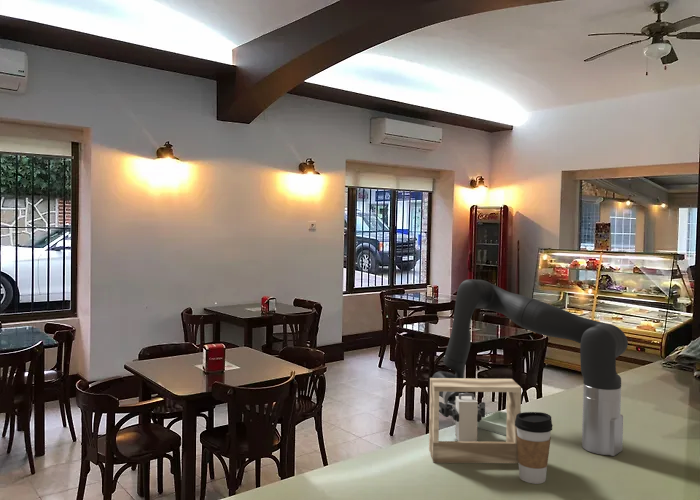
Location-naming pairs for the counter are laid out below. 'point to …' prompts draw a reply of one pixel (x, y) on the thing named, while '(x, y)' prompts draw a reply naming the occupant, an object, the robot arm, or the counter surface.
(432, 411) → the frame
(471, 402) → the caddy
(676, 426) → the counter surface
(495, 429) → the tray
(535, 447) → the coffee cup
